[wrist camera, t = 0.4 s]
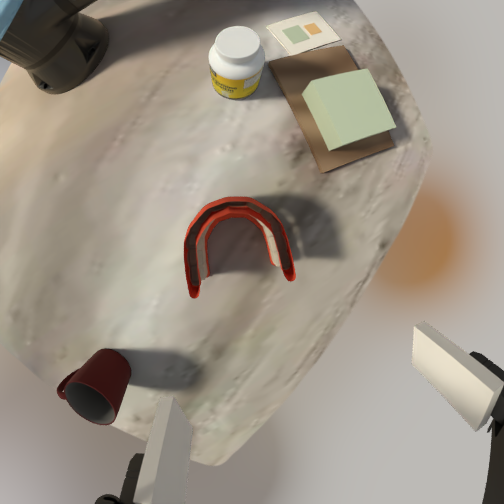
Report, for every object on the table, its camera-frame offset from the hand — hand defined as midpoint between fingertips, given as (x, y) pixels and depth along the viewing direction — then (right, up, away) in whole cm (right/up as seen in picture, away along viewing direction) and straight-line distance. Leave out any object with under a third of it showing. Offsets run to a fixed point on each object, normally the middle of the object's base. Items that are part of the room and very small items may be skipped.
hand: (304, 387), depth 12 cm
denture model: (-5, +9, +25) cm, 27 cm away
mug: (-29, -13, +28) cm, 42 cm away
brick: (+10, +26, +21) cm, 35 cm away
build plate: (+9, +28, +22) cm, 37 cm away
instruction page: (+6, +41, +19) cm, 46 cm away
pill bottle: (-5, +31, +21) cm, 37 cm away
